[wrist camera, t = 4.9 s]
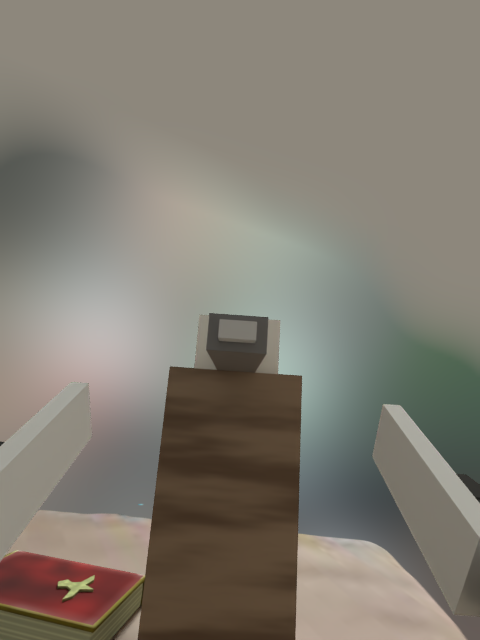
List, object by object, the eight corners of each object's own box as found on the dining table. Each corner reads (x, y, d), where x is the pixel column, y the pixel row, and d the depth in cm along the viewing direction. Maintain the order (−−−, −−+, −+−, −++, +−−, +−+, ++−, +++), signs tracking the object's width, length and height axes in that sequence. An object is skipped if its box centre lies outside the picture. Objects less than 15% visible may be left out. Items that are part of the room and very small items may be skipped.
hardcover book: (12, 579, 50) (19, 546, 51) (144, 608, 45) (148, 571, 46) (-77, 629, 39) (-66, 586, 40) (87, 675, 34) (94, 625, 35)
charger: (308, 354, 21) (310, 264, 23) (164, 344, 21) (175, 255, 23) (269, 380, 45) (271, 335, 47) (202, 375, 45) (206, 331, 47)
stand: (292, 732, 29) (302, 375, 36) (128, 720, 29) (169, 366, 36) (278, 649, 39) (287, 381, 46) (155, 640, 39) (183, 374, 46)
